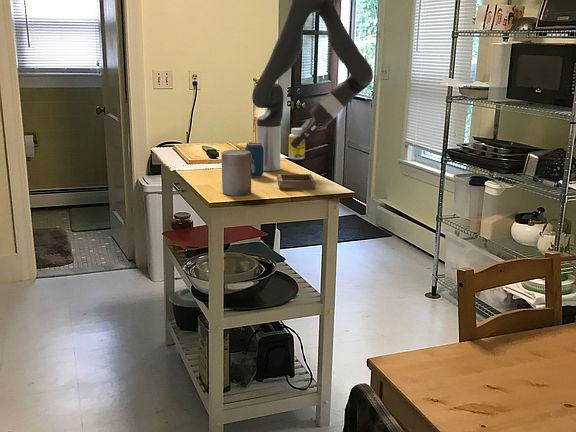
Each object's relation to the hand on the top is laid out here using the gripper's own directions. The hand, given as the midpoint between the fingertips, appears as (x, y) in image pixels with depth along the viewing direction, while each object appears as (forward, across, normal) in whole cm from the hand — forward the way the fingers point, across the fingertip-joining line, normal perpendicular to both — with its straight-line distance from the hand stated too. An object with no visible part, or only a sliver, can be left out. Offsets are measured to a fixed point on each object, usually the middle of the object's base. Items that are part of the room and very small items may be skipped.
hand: (291, 144), depth 216 cm
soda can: (+19, -18, +2) cm, 26 cm away
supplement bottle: (+2, 0, +5) cm, 5 cm away
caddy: (+9, 0, +11) cm, 15 cm away
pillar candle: (+24, +10, -3) cm, 26 cm away
